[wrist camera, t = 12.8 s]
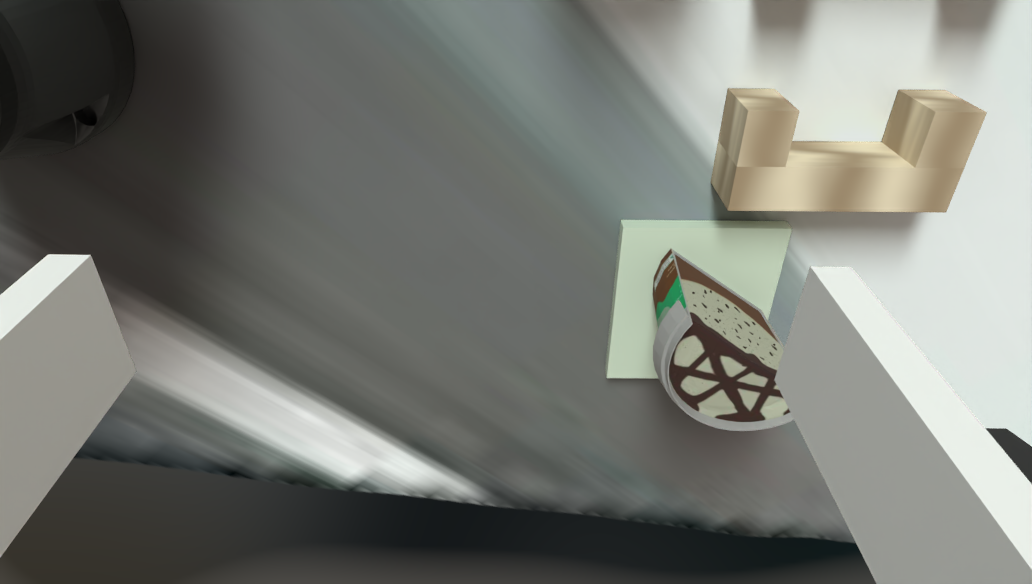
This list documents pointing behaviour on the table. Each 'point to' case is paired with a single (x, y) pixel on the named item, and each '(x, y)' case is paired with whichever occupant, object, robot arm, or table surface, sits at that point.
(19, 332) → the robot arm
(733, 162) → the frame
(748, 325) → the food container
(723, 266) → the coaster
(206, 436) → the table surface
